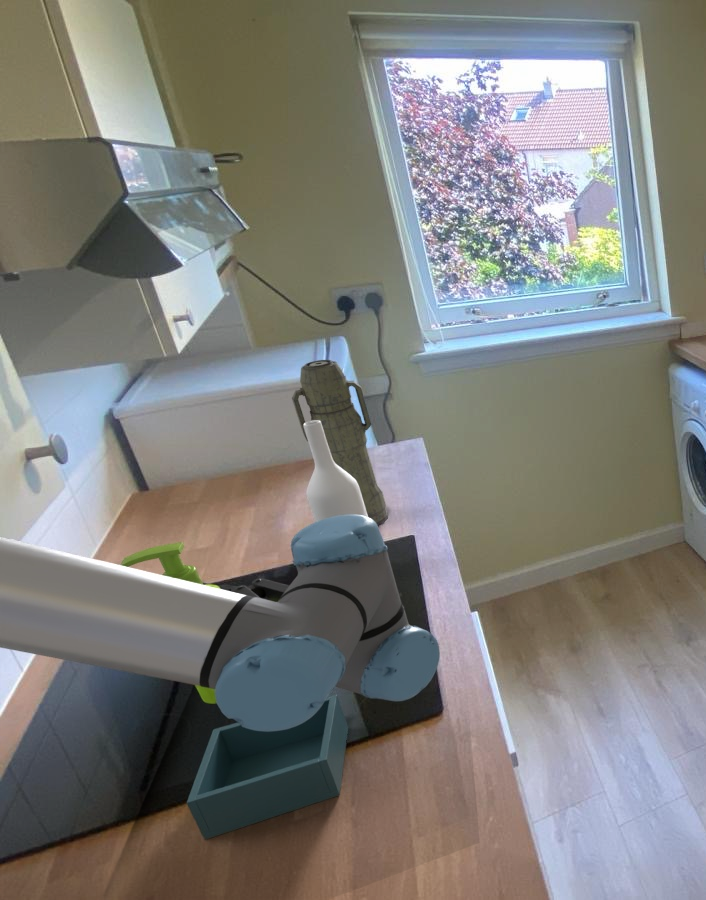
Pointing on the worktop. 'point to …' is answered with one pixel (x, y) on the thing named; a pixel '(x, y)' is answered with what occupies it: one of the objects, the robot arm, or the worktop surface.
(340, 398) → the olive amphora vase
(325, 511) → the bottle
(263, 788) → the tub
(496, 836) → the worktop surface
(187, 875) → the worktop surface
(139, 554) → the soap dispenser
